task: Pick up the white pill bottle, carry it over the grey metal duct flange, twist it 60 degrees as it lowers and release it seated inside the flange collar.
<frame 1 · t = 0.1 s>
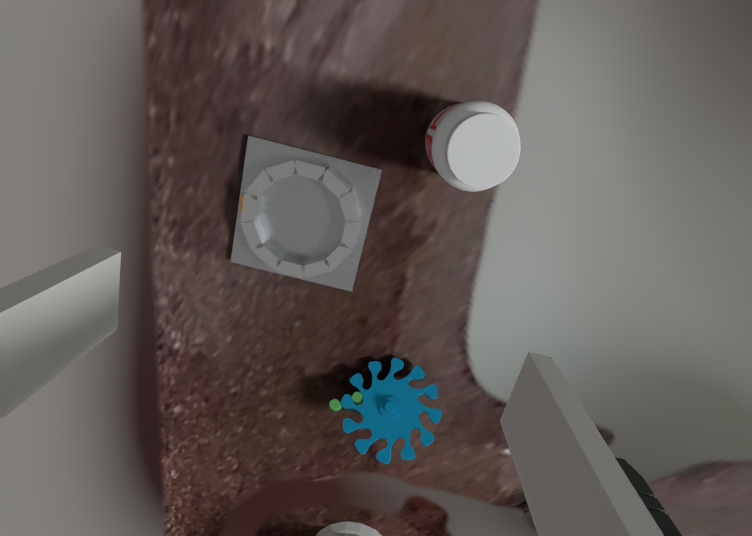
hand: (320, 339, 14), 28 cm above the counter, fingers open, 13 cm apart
duct flange: (304, 216, 41), on the counter
pill bottle: (459, 140, 39), on the counter
blue knobbed piece: (386, 385, 47), on the counter
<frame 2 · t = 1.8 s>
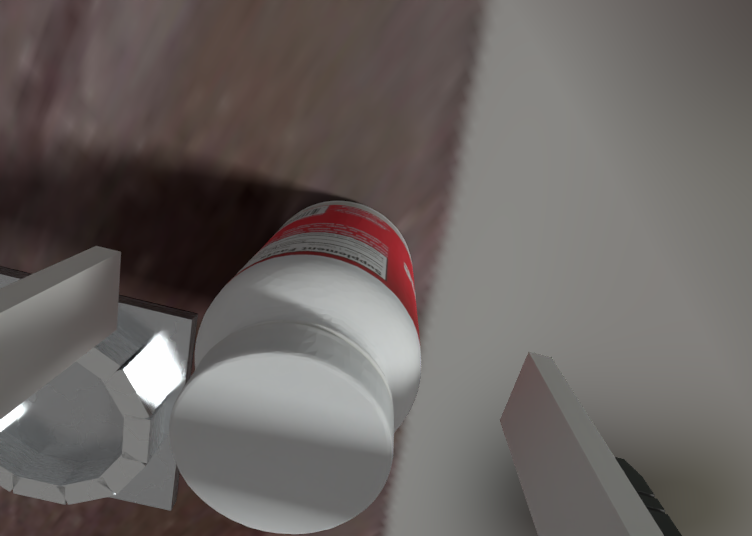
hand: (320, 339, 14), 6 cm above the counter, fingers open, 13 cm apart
duct flange: (68, 389, 22), on the counter
pill bottle: (342, 265, 20), on the counter
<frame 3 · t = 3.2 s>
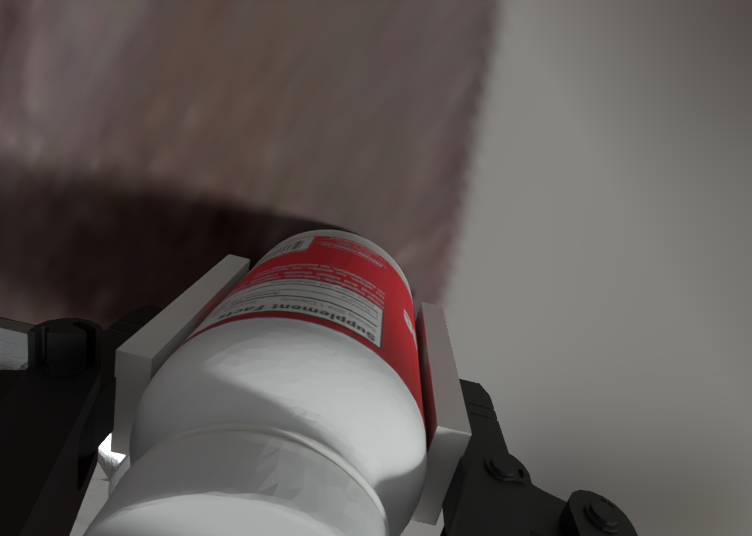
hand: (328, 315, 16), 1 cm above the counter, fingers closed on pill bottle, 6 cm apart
duct flange: (19, 440, 19), on the counter
pill bottle: (332, 302, 17), on the counter, touching gripper
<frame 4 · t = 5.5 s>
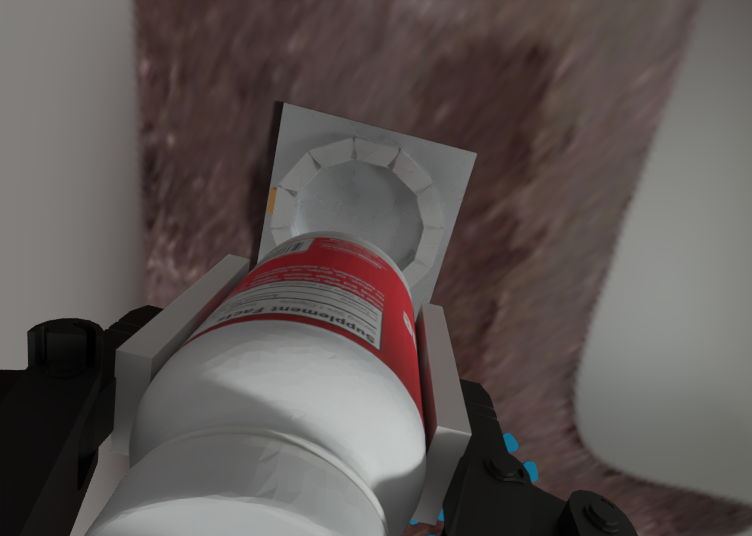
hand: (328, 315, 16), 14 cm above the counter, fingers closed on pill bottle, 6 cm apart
duct flange: (359, 220, 29), on the counter
pill bottle: (332, 303, 17), point 13 cm above the counter, touching gripper
blue knobbed piece: (457, 451, 36), on the counter
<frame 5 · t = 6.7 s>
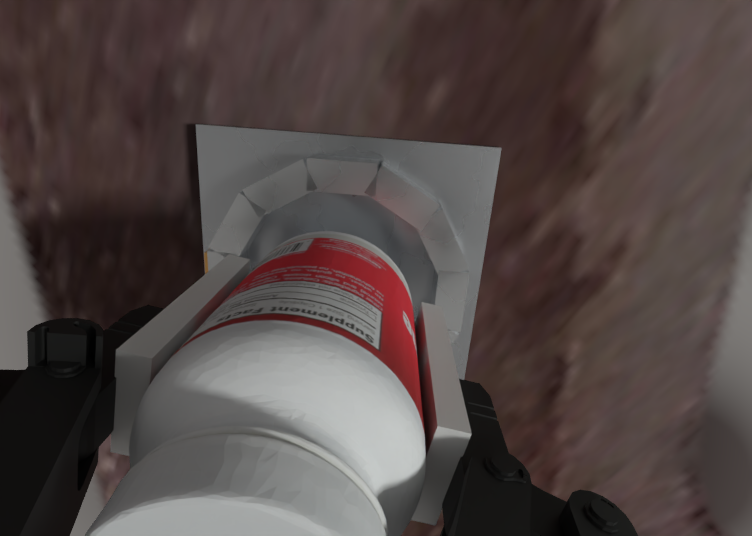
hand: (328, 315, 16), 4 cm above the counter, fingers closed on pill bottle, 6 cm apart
duct flange: (342, 274, 20), on the counter
pill bottle: (332, 303, 17), point 3 cm above the counter, touching gripper
when the fingers open (4 cm above the counter, at t = 7.6 s): pill bottle drops 2 cm, resting on duct flange.
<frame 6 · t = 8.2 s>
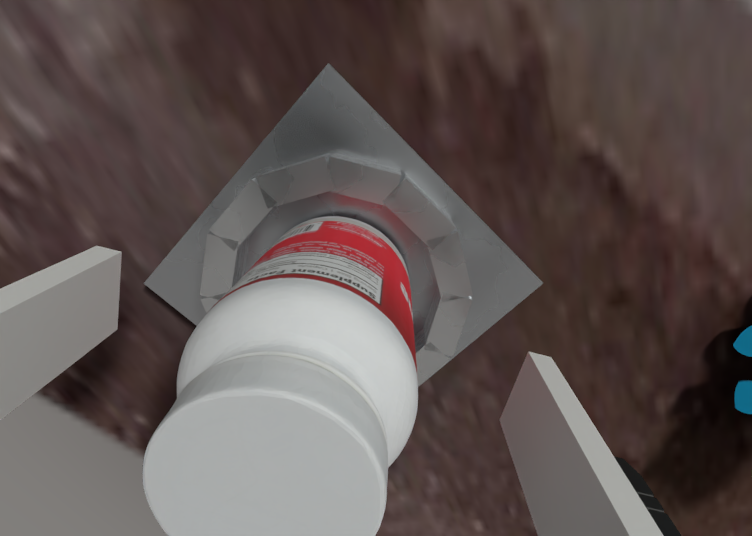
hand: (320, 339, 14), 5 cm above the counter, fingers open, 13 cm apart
duct flange: (340, 278, 19), on the counter
pill bottle: (338, 282, 19), resting on duct flange
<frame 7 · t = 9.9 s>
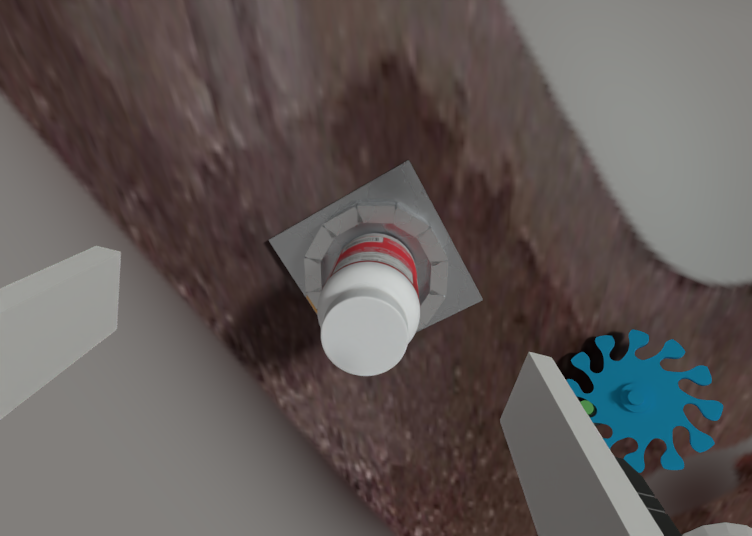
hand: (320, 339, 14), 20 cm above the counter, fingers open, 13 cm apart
duct flange: (377, 267, 34), on the counter
pill bottle: (375, 269, 34), resting on duct flange
blue knobbed piece: (606, 373, 36), on the counter
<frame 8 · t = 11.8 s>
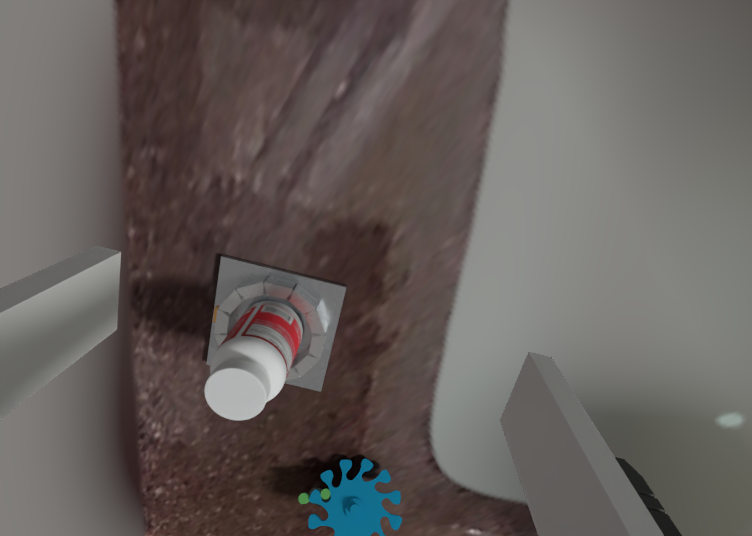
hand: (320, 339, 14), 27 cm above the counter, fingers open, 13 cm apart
duct flange: (275, 324, 44), on the counter
pill bottle: (273, 326, 44), resting on duct flange
blue knobbed piece: (353, 479, 50), on the counter
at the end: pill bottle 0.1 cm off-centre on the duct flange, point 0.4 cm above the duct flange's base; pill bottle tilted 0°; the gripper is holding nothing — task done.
